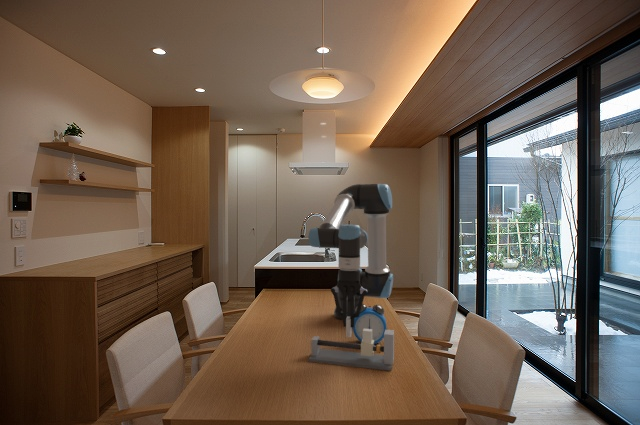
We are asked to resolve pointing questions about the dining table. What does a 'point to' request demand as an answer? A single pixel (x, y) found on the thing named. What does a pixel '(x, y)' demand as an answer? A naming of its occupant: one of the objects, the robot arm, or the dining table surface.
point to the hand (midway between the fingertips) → (348, 336)
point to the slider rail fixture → (354, 353)
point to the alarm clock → (370, 322)
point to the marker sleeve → (367, 343)
